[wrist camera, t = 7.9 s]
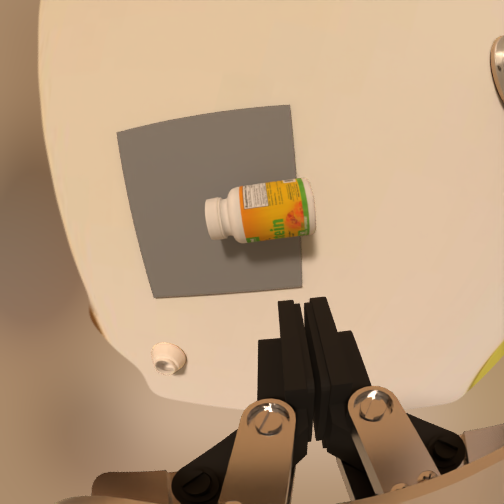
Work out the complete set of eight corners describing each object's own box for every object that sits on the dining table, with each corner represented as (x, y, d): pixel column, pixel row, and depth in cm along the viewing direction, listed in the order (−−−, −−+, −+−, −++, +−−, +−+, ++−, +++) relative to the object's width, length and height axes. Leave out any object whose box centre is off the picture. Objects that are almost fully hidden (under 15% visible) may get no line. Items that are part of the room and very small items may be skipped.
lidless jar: (187, 367, 41) (184, 342, 39) (183, 382, 38) (180, 357, 36) (155, 363, 41) (150, 338, 39) (150, 377, 38) (144, 352, 36)
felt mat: (289, 105, 27) (289, 104, 26) (301, 284, 35) (302, 286, 34) (118, 132, 28) (116, 132, 27) (154, 295, 36) (153, 297, 35)
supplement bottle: (315, 244, 29) (217, 257, 30) (306, 200, 31) (216, 213, 32) (318, 211, 24) (201, 228, 25) (306, 165, 27) (202, 180, 27)
